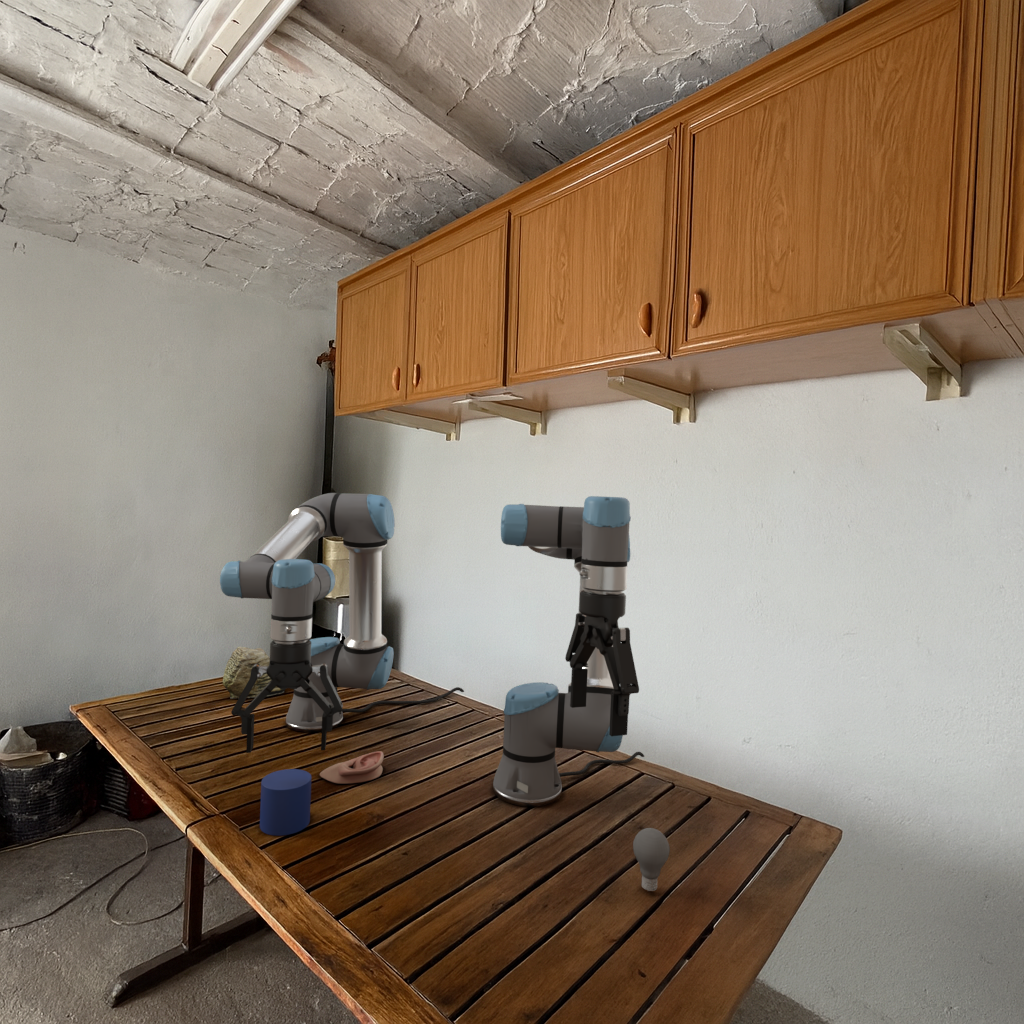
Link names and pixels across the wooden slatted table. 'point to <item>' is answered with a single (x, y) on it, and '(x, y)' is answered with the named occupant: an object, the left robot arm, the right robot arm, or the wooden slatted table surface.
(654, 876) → the light bulb
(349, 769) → the anatomical model
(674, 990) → the wooden slatted table surface
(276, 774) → the cylinder
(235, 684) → the fossil
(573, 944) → the wooden slatted table surface
